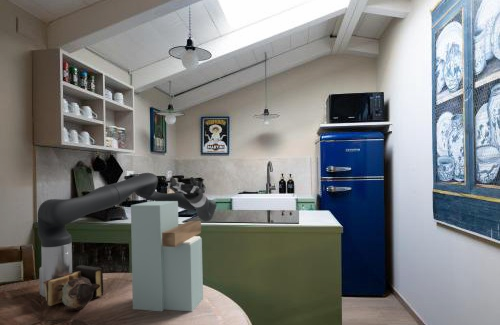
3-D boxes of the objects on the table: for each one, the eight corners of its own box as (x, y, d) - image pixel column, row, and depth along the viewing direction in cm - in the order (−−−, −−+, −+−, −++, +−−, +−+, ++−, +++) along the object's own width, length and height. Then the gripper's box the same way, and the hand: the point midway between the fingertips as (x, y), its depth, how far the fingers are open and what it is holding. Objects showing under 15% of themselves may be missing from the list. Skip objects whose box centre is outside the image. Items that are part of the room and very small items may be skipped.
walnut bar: (162, 246, 90) (162, 232, 90) (190, 232, 110) (190, 220, 110) (175, 246, 89) (174, 232, 89) (201, 232, 109) (200, 221, 109)
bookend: (81, 264, 115) (121, 267, 101) (83, 294, 114) (123, 302, 100) (36, 274, 103) (75, 280, 89) (37, 309, 102) (76, 320, 88)
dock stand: (132, 308, 96) (130, 205, 97) (153, 293, 108) (151, 201, 109) (189, 313, 92) (187, 205, 93) (204, 297, 104) (202, 201, 104)
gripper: (209, 203, 135) (195, 187, 121) (178, 203, 138) (162, 187, 125) (211, 188, 139) (199, 170, 125) (182, 188, 142) (166, 171, 129)
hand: (181, 179), depth 125 cm, fingers open, 8 cm apart
